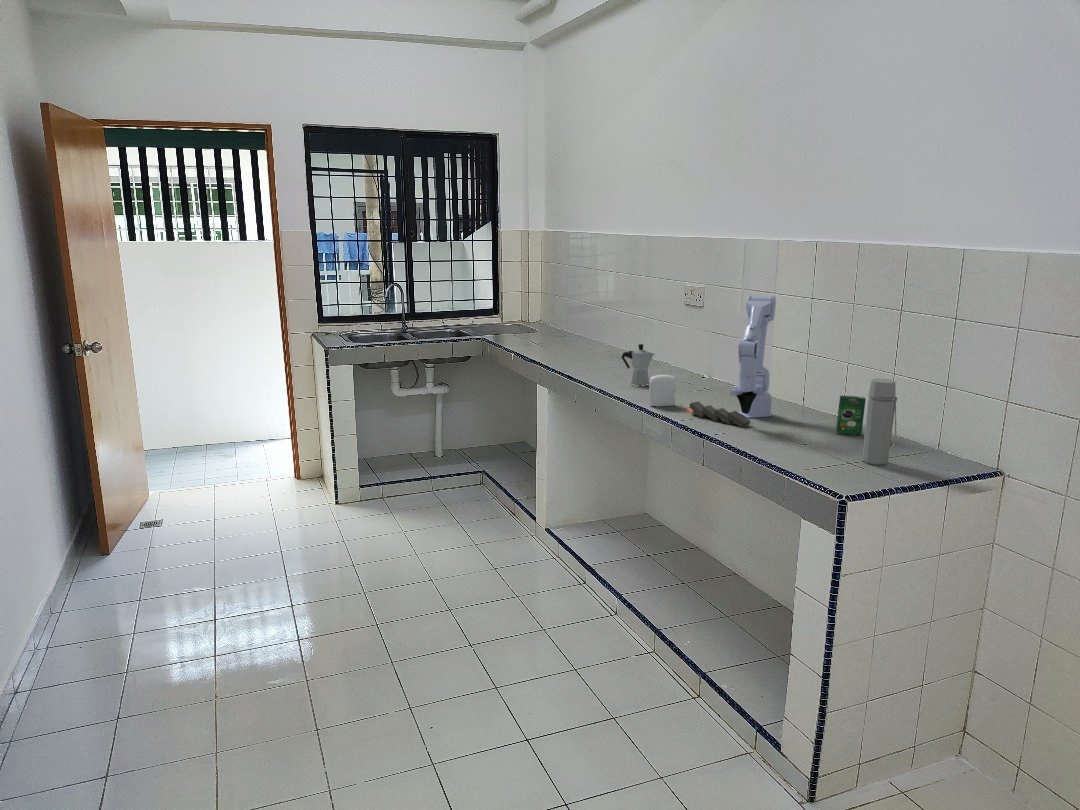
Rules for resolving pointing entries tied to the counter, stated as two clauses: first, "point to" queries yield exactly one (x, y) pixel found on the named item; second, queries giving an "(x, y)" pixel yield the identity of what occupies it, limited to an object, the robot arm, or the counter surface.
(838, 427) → the coffee box
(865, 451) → the water bottle
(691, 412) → the terracotta domino
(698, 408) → the domino
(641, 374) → the coffee maker
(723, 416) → the domino
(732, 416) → the domino
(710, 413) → the domino
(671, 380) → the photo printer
